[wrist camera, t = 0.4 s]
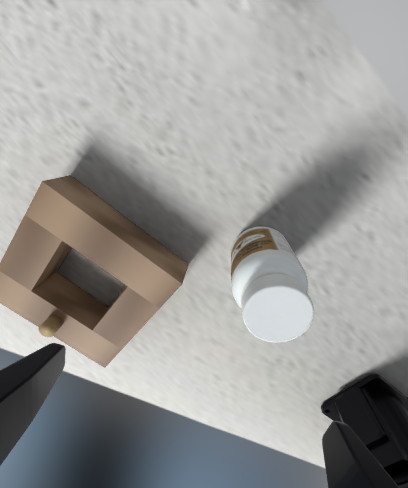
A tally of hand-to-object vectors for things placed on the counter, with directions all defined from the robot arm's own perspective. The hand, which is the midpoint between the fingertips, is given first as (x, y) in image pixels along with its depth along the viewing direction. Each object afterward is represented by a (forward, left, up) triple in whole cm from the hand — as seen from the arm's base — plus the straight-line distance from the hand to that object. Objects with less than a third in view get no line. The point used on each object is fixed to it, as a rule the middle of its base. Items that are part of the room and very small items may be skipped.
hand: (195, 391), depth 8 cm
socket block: (+6, +8, -12) cm, 16 cm away
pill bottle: (-3, -2, -13) cm, 13 cm away
